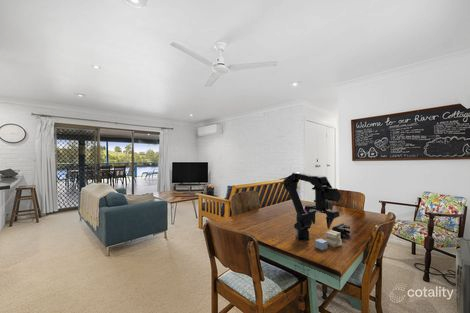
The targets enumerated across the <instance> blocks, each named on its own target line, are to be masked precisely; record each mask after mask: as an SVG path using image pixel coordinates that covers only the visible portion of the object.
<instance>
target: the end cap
mask: <svg viewBox="0 0 470 313" xmlns="http://www.w3.org/2000/svg"><path fill="white" fill-rule="evenodd" d="M350 229H351V227H350V225H345V224H344V223H343V222H342V223H339V224H336V225H335V226H333V227H331V230H332V231H336V232H339V233H340V238H341V240H344V239H346V238H348V237H350V235H351V230H350Z"/></svg>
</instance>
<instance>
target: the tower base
mask: <svg viewBox="0 0 470 313" xmlns="http://www.w3.org/2000/svg"><path fill="white" fill-rule="evenodd" d="M324 240H325V241H327V245H329V246H331V247H333V248H336V247H340V246H342V244H343V242H342V241H343V239H339V240H337V241H333V240H330V239H327V238H326V236H325V239H324Z"/></svg>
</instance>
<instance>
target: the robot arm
mask: <svg viewBox="0 0 470 313" xmlns="http://www.w3.org/2000/svg"><path fill="white" fill-rule="evenodd" d="M299 181H304V182H306V183H310V184H311V186H313V187H312V188H311V190H314V195H315V196H314V200H313V202H314V203H315V204H314V205H313V204H307V205H306V204H305V206H304V205H303V203H302V201H301V198H300V196H299V193H298V191H297V190H298V183H299ZM282 184H283V187H284V189H285V190H286V191H287V192H288V194H289V196H290V198H291V201H292V204H293V207H294V209H295V213H296V222H295V224H294V225H293V227H294V229H295V230H296V235H295V238H297V240H298V241H309V240H310V231H309V230H310V229H311V226H312V224H313V225H315V224H316V214H317V213H321V214H325V215H326V217H325V219H326V227H327V229H328V230H331V229H330V228H331V226H332V223H333V221H334V220H335V219H337V218H339V217H340V215H341V214H340V212H339V211H338V210H334V204H332V203H329V201H331V202H335V203H336V202H337V203H338V202H339V201H340V200H341V193H340V191H339V189H338V188H337V187H335V188H333V187H332V185H331V182H330V181H329V180H328V177H327V176H325V175H311V174H305V173H301V172H298V171H296V172H295V171H294V172H292V173H291V175H289V176H287V177H286V178H284V179H283V182H282Z"/></svg>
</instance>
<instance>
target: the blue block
mask: <svg viewBox="0 0 470 313" xmlns="http://www.w3.org/2000/svg"><path fill="white" fill-rule="evenodd" d="M314 242H315V243H314V244H315V245H314V247H315V248H316V249H319V250H321V251H324V250H327V249H328V244H327V241H325V239H322V238H317V239H314Z"/></svg>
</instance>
